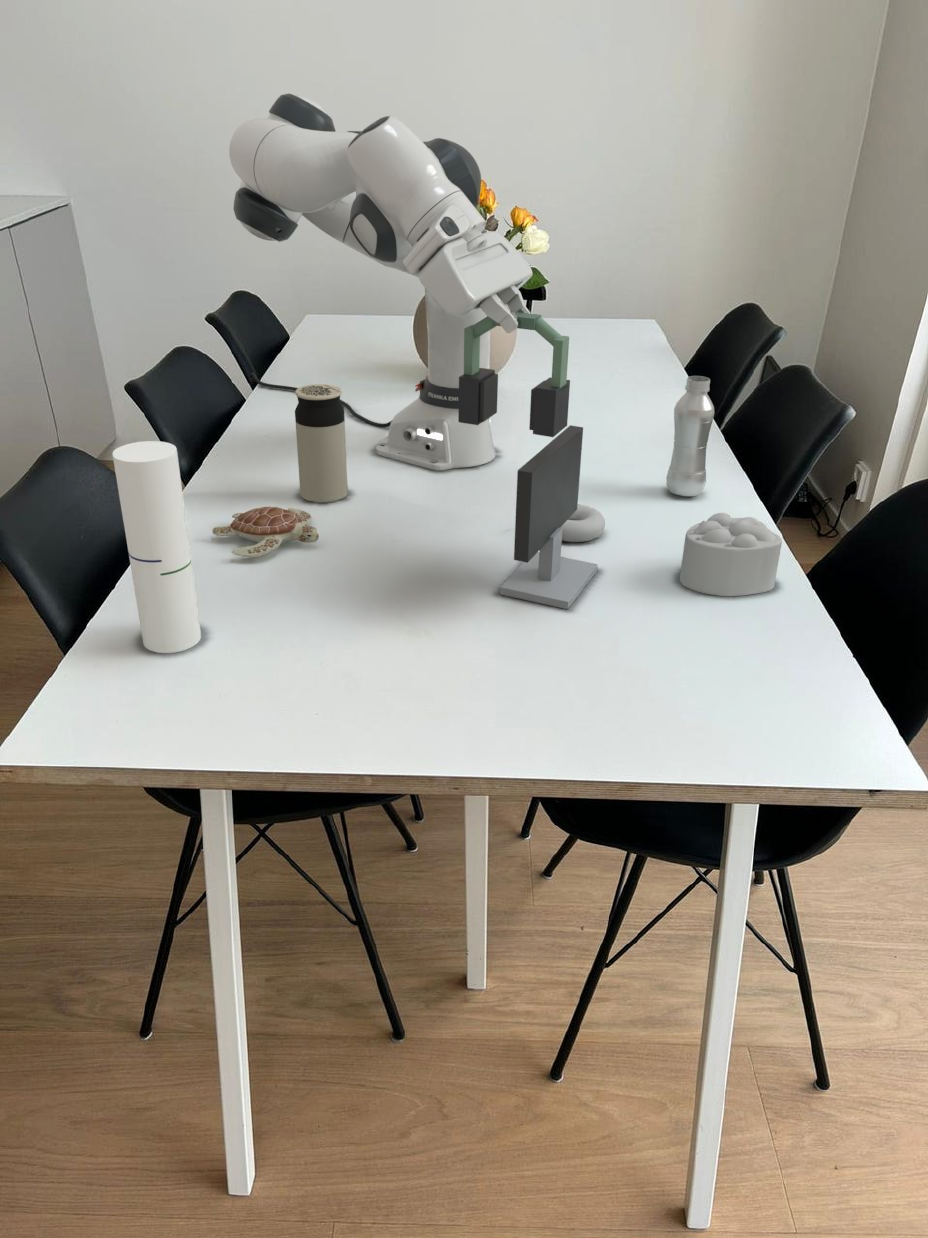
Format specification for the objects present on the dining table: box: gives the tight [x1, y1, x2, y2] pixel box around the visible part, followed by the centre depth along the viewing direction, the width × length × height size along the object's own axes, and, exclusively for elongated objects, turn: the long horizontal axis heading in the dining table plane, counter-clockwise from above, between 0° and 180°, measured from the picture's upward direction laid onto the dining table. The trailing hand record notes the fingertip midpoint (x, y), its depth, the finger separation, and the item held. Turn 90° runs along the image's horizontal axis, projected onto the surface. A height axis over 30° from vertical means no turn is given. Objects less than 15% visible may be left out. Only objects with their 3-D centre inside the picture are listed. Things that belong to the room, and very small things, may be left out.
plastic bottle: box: [665, 375, 715, 497], centre depth 170 cm, size 6×7×20 cm
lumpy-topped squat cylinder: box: [679, 512, 783, 597], centre depth 144 cm, size 10×13×9 cm
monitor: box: [499, 424, 599, 610], centre depth 139 cm, size 10×20×20 cm, turn 156°
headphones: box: [458, 310, 571, 438], centre depth 128 cm, size 13×5×14 cm, turn 65°
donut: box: [560, 503, 606, 543], centre depth 159 cm, size 10×4×10 cm
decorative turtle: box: [211, 506, 320, 558], centre depth 155 cm, size 18×17×5 cm
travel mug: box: [294, 383, 349, 504], centre depth 167 cm, size 8×8×18 cm
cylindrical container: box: [111, 440, 202, 654], centre depth 123 cm, size 7×7×25 cm
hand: (521, 325), depth 125 cm, fingers closed on headphones, 2 cm apart
